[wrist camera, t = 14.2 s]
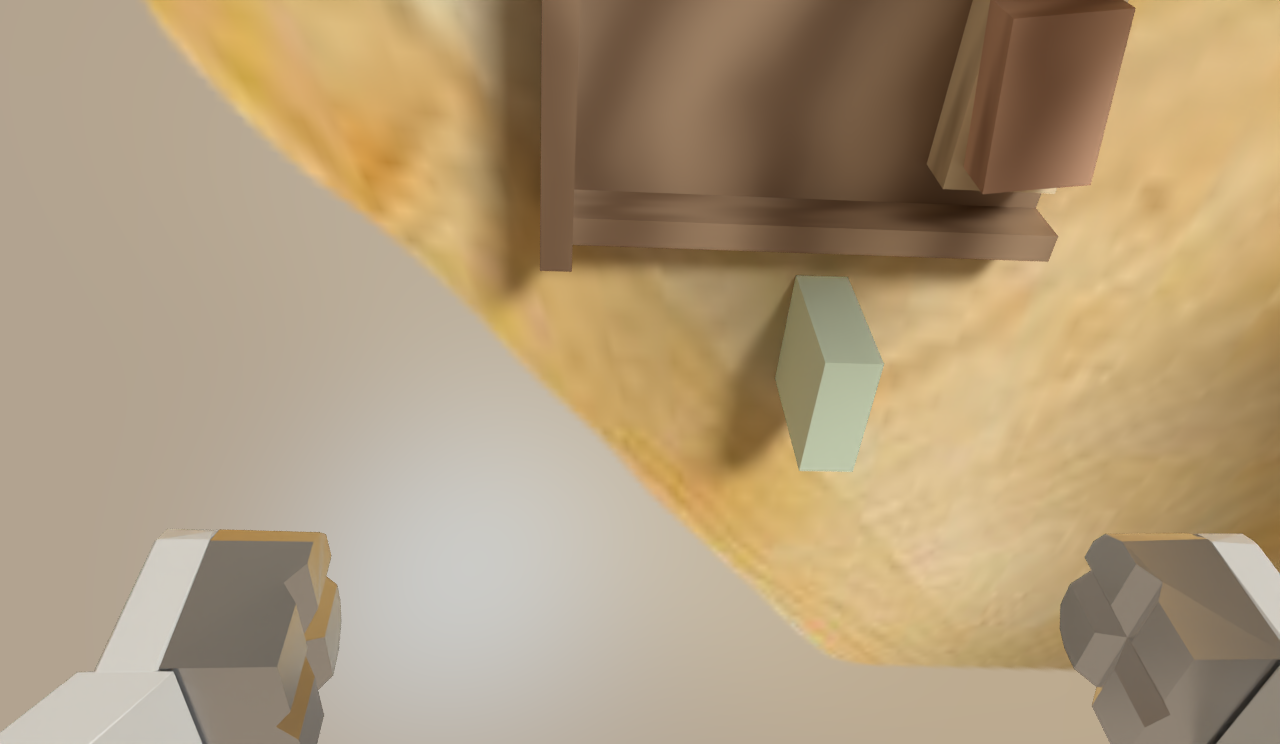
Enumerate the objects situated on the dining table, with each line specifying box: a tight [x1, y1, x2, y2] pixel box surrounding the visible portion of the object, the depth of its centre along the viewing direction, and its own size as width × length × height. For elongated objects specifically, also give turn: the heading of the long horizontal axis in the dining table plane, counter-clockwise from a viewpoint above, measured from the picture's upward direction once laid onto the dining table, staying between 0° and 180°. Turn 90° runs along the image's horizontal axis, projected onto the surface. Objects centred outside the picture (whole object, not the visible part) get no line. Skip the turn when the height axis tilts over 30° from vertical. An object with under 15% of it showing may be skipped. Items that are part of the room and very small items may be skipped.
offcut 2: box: [964, 0, 1135, 194], centre depth 34 cm, size 4×6×2 cm, turn 4°
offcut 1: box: [927, 0, 1128, 194], centre depth 36 cm, size 5×8×2 cm, turn 176°
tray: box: [540, 0, 1058, 272], centre depth 34 cm, size 21×14×5 cm, turn 86°
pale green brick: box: [775, 275, 884, 472], centre depth 42 cm, size 2×6×6 cm, turn 176°
